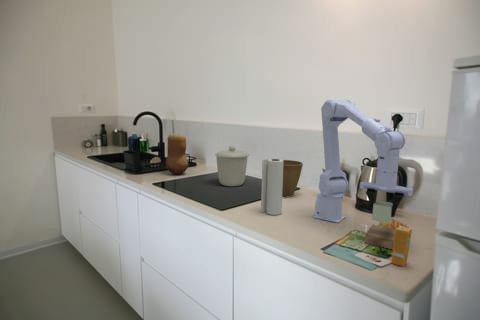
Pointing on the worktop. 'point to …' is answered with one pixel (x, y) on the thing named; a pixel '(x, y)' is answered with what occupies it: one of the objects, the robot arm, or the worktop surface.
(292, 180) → the plant pot
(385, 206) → the sage green block
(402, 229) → the supplement box
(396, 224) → the pastry
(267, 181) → the paper towel roll
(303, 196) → the worktop surface
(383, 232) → the walnut base block
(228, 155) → the canister
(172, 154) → the butternut squash
